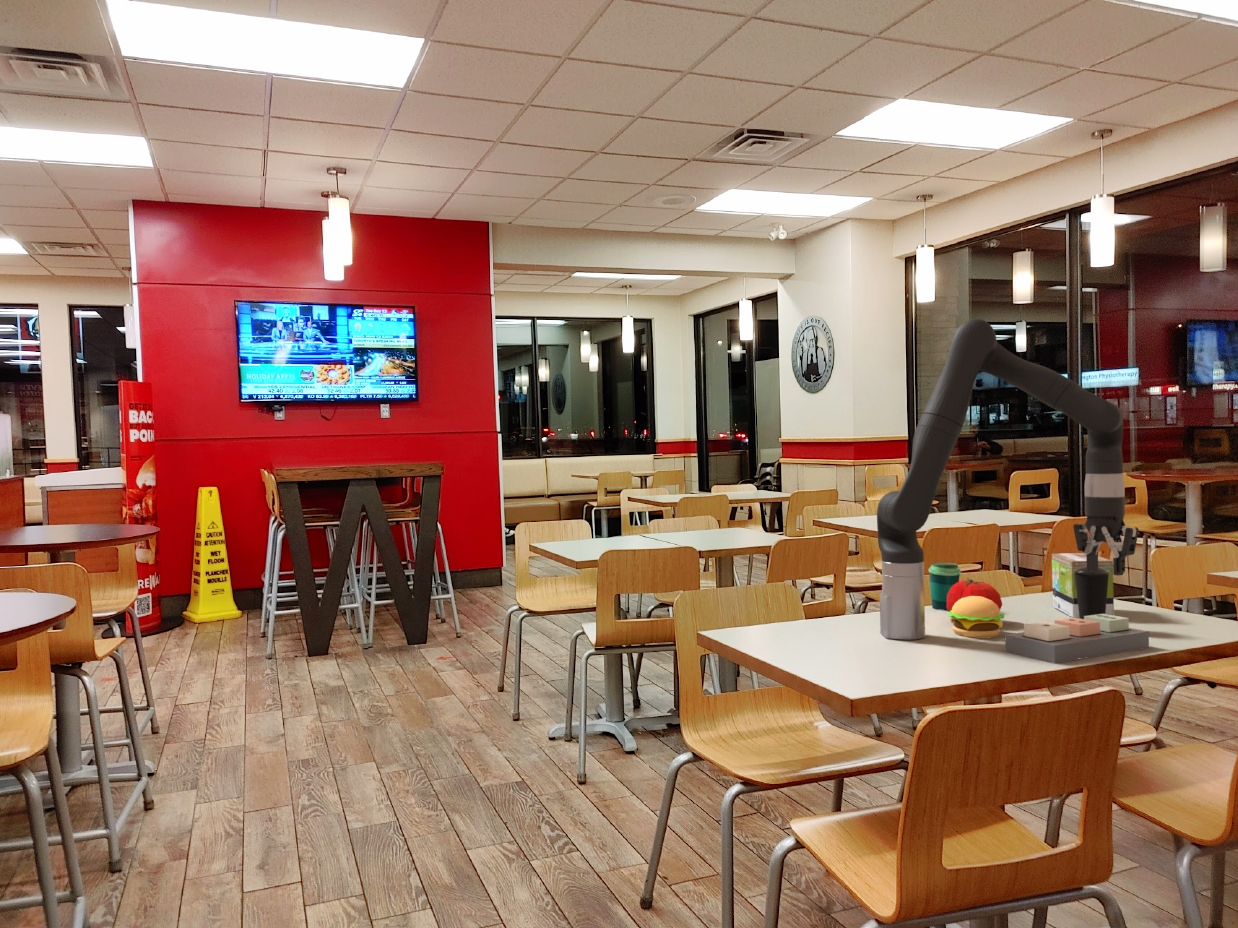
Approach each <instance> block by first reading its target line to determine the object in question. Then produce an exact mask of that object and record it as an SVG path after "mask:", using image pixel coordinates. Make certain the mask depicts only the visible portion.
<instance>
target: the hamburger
mask: <svg viewBox="0 0 1238 928" xmlns="http://www.w3.org/2000/svg"><path fill="white" fill-rule="evenodd" d="M947 614H948V617H950V620H949V621H950V622H951V624H953V626H952V630H953V632H954V633H955V635H958V636H961V637H965V636H967V637H966V638H973V637H977V638H979V639H988V637H990V638H995V637H997V636H998V635H1000V633H1001V629H1002V628H1003V625H1004V624H1003V621H1002V619H1005V614H1004V613H1001V609H999V608H998V606H997V604H995V603H994V602H993V601H992V600H989V599H987V598H984V597H981V596H968V597H965V598H962V599H960V600H958V601H957V602H956V603H955V604H954V606H953V607H952V610H951V611H950V612H947Z"/></svg>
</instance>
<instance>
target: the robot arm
mask: <svg viewBox="0 0 1238 928" xmlns="http://www.w3.org/2000/svg"><path fill="white" fill-rule="evenodd" d="M980 371H981V372H983V373H986V374H988V375H991V376H993V377H995V378H998V379H1000V380H1002V381H1004V382H1006V383H1008V384H1010V385H1012V386H1014V387H1016V388H1018V389H1019V390H1021V391H1023V392H1024V393H1027V394H1028V395H1029V396H1031V397H1032V398H1034V399H1036V400H1038V401H1039V402H1041V403H1043V404H1044V405H1047V406H1048V407H1050V408H1052V409H1054V410H1055V411H1057V412H1059V413H1062V414H1064V415H1065V416H1067V417H1069V418H1070V419H1071V420H1073V421H1074V422H1075V423H1077V424H1079V425H1080V426H1081V427H1083V428H1085V429H1086V430H1087V450H1086V452H1085V453H1086V454H1085V479H1084V514H1085V516H1086V521H1085V523H1074V524H1073V525H1072V528H1073V533H1074V538H1075V542H1076V543H1075V544H1076V548H1077V550H1078V551H1079V552H1082V553H1085V554H1086V555H1087V569H1088V571H1089V572H1098V556H1099V555H1098V554H1097V553H1098V551H1099V548H1100V546H1101V545H1102V544H1103V543H1107V545H1108V548H1109V549H1110V550H1111V552H1112V554H1113V558H1112V561H1113V576H1123V575H1124V573H1125V571H1126V558H1127V557H1129V556H1133V555H1135V552H1136V548H1137V542H1138V537H1139V531H1140V530H1139V528H1138V527H1136V526H1135V527H1131V526H1128V525H1126V523H1125V522H1124V517H1125V516H1126V501H1125V500H1126V497H1125V496H1126V495H1125V493H1126V492H1125V489H1126V488H1125V485H1126V484H1125V480H1124V457H1123V448H1122V447H1123V437H1124V413H1123V412H1122V410H1121V408H1120V407H1119V406H1118V405H1116V404H1114V403H1112V402H1110V401H1108V400H1106V399H1104V398H1102V397H1100V396H1098V395H1096V394H1094V393H1092V392H1090V391H1088V390H1087V389H1084V387H1082V386H1081V385H1079V384H1078V383H1077V382H1076V381H1073V380H1072V379H1069V378H1068V377H1066V376H1064V375H1063V374H1061V373H1059V372H1057V371H1055V370H1053V369H1050V368H1049V367H1046V366H1043V365H1040V364H1037V363H1035V362H1031V361H1028V360H1025V359H1023V358H1021V357H1019V356H1018V355H1015V354H1013V353H1012V352H1011V351H1009V350H1007V348H1005V347H1004V346H1003V345H1002V344H1000V343H999V342H998V341H997V335H996V332H995V330H994V328H993V326H992V325H991V324H990V323H989V322H988V321H986V320H985V319H980V318H972V319H970V320H967V321H965V322H964V323H962V324H961V325H960V326H959V327H958V328H957V329H956V331H955V332H954V334H953V336H952V340H951V344H950V347H949V350H948V354H947V356H946V361H945V363H944V367H943V368H942V372H941V374H940V377H939V379H938V380H937V382H936V384H935V386H934V388H933V389H932V393H931V395H930V396H929V398H928V401H927V403H926V405H925V407H924V409H923V412H922V414H921V416H920V419H919V421H918V423H917V426H916V427H915V430H914V434H913V439H912V450H911V451H912V453H911V461H910V466H909V469H908V472H907V475H906V477H905V479H904V482H903V483H902V486H901V488H900V489H899V490H893V491H890V492H887V493H886V494H884V495H883V496H882V497H881V498H880V500H879V503H878V505H877V510H876V511H877V512H876V524H877V526H876V528H877V541H878V542H877V543H878V549H879V551H880V554H881V555H880V556H881V592H879V609H880V610H879V612H880V614H879V615H880V616H879V621H880V624H879V625H880V629H879V630H880V632H879V633H880V634H881V635H882V636H883V637H885V638H886V639H893V640H894V639H895V640H904V641H905V640H907V641H908V640H911V641H912V640H919V639H924V638H925V636H926V621H925V620H926V616H925V615H926V614H925V608H926V607H925V604H926V603H925V559H924V557H925V554H924V550H923V548H922V547H921V545H920V543H919V540H918V537H917V531H918V530H921V529H922V527H923V526H925V524H926V522H927V520H928V518H929V516H930V513H931V509H932V506H933V502H934V500H935V496H936V494H937V493H936V492H937V490H938V489H937V488H938V486H939V484H940V480H941V477H942V475H943V473H944V471H945V469H946V467H947V464H948V461H949V458H950V456H951V454H952V452H953V450H954V448H955V445H956V444H957V441H958V439H959V436H960V435H961V431H962V429H963V426H964V424H965V421H966V418H967V414H968V411H969V405H970V402H971V398H972V397H971V396H972V393H973V388H974V384H975V381H976V378H977V377H978V374H979V372H980ZM1088 533H1089V535H1088ZM1122 535H1123V536H1122Z"/></svg>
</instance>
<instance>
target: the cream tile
mask: <svg viewBox="0 0 1238 928" xmlns="http://www.w3.org/2000/svg"><path fill="white" fill-rule="evenodd" d="M1023 632H1024V636H1027V637H1032V638H1036V639H1041V640H1045V641H1054V640H1061V639H1067V638H1070V628H1069V626H1064V625H1059V624H1055V622H1048V621H1039V622H1032V623H1025V624H1023Z"/></svg>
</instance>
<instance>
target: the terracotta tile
mask: <svg viewBox="0 0 1238 928" xmlns="http://www.w3.org/2000/svg"><path fill="white" fill-rule="evenodd" d="M1054 624H1059V625H1064V626H1069V628H1070V635H1074V636H1079V637H1081V636H1088V635H1094V634H1100V622H1096V621H1090V620H1085V619H1080V618H1072V617H1070V618H1069V617H1068V618H1062V619H1061V618H1060V619H1055V620H1054Z"/></svg>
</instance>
